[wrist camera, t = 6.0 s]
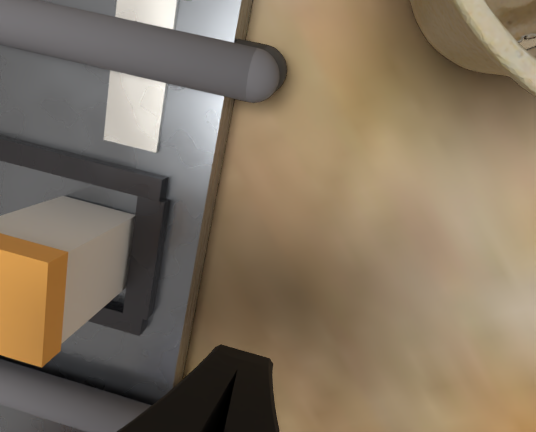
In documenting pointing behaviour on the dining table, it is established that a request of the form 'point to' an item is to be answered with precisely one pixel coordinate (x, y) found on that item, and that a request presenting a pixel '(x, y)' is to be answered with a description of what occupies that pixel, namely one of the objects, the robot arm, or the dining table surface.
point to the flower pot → (483, 35)
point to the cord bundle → (143, 49)
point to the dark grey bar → (65, 400)
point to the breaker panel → (122, 190)
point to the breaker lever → (58, 272)
